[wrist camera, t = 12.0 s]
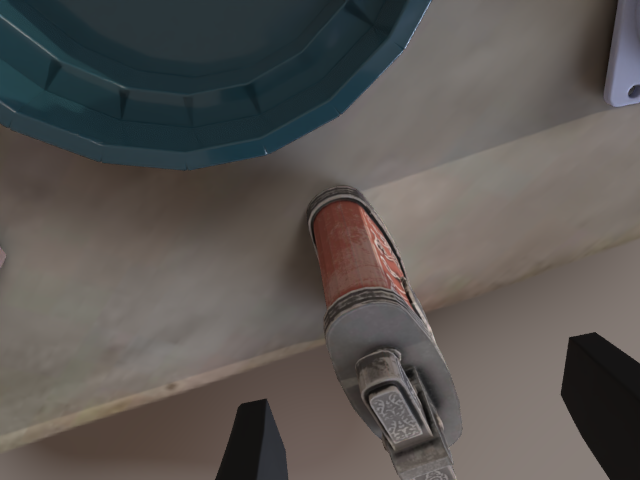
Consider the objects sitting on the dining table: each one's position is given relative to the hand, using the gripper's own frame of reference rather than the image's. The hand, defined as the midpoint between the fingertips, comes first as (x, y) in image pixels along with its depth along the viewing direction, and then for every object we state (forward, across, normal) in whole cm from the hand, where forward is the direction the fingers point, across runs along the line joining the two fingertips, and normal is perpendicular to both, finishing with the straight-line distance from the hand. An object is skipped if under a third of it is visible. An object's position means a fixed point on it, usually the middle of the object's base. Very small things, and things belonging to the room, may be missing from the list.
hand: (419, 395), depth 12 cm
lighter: (+11, 0, +3) cm, 11 cm away
